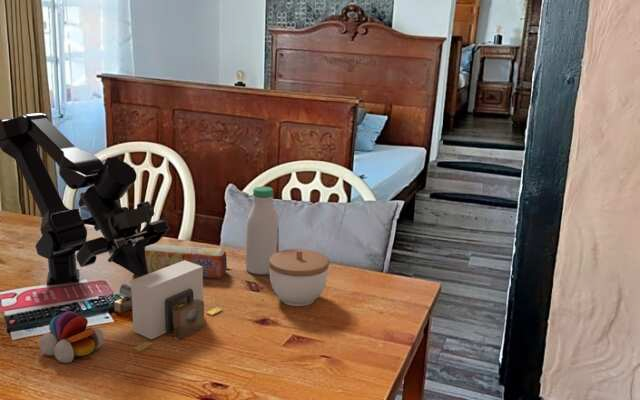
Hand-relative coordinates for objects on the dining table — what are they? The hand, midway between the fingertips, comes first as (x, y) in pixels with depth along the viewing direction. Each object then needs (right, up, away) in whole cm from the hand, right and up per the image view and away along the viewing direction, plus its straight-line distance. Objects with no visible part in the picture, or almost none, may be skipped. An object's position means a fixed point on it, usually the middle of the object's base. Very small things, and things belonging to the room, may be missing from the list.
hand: (145, 278), depth 117 cm
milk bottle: (+20, -1, +27) cm, 34 cm away
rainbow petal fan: (-9, -11, -12) cm, 19 cm away
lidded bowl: (+29, -6, +12) cm, 32 cm away
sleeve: (+5, -9, -1) cm, 10 cm away
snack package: (+1, -2, +23) cm, 23 cm away
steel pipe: (+2, -8, 0) cm, 8 cm away
